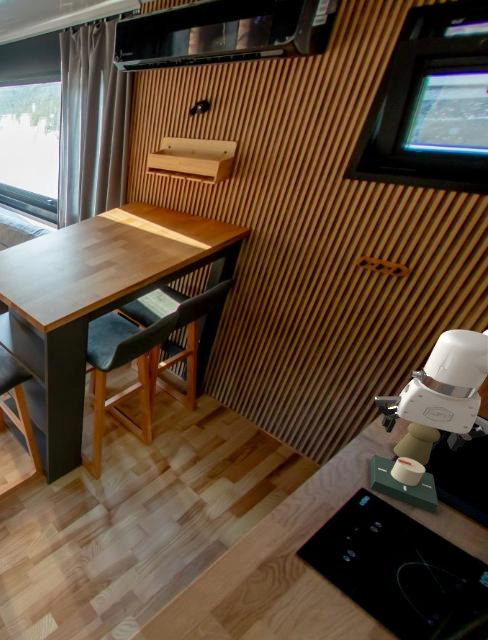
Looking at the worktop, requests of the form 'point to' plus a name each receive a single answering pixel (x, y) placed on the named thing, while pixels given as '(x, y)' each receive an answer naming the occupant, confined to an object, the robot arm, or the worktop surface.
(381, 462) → the panel
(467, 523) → the worktop surface
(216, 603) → the worktop surface
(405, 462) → the grip knob
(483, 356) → the robot arm
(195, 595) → the worktop surface
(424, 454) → the cork
